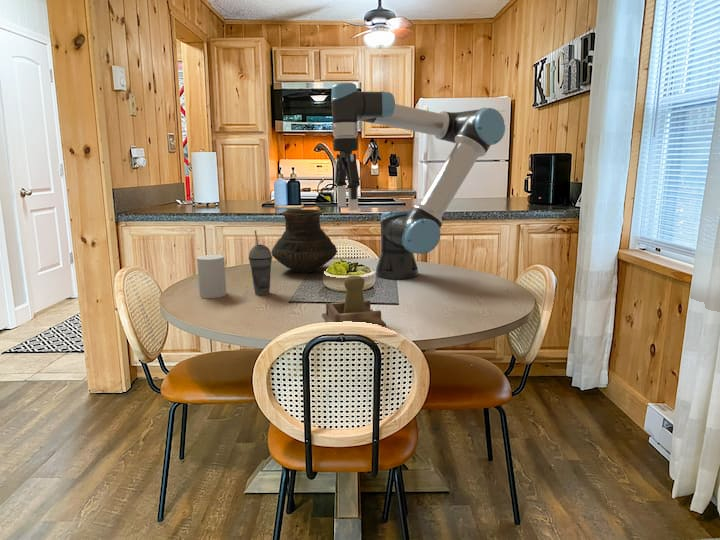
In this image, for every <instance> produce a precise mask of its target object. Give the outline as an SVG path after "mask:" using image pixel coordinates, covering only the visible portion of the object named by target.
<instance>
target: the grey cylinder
mask: <svg viewBox="0 0 720 540" xmlns="http://www.w3.org/2000/svg"><path fill="white" fill-rule="evenodd" d="M196 264H197V265H196V266H197V267H196V268H197V277H198V292H199V297H200V298H204V299H216V298H221V297H225V296H227V282H226V280H227V279H226V267H225V256H224V255H222V254H206V255H201V256H200V255H199V256H197V257H196Z"/></svg>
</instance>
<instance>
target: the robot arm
mask: <svg viewBox="0 0 720 540" xmlns="http://www.w3.org/2000/svg"><path fill="white" fill-rule="evenodd" d="M395 99H396V98H395V96H394V94H393V93H392V92H389V91H388V92H387V91H383V90H382V91H360V90H358V88H357V85H356V84H355V83H354V82H353V83H352V82H342V83H341V82H340V83H334V84H333V85H332V86H331V101H330V102H331V114H332V115H331V116H332V118H331V119H332V126H330V130H332V136H333V140H332V145H333V146H332V149H333V152H339V154H336V168H335V178H334V184H336V193H337V195H336V197H337V207H347V197H348V211H351V212H352V211H359V196H358V195H359V194H358V193H359V192H358V191H359V190H358V188H359V186H360V185H361V182H360V176H359V170H358V164H357V154H356V153H353V152H357V151H359V139H358V138H357V137H358V136H359V130H358V129H359V126H358V124H359V123H358V122H364V123H368V124H370V123H371V124H376V125H381V126H386V127H391V128H397V129H401V130H406V131H412V132H416V133H422V134H427V135H432V136H434V137H435V139H438V140H440V141H446V142H450V143H454V144H455V145H454V147H453V149H452V150H451V151H450V154H449V155H448V157H447V158H446V159H445V162H444V163H443V164H442V166H441V168H440V170H439V172H438V173H437V174H436V176H435V178H434V180H433V181H432V183H431V184H430V186H429V187H428V189H427V191H426V193H424V195H423V198H422V199H421V200H420V202H419V204H415V205H413V206H411V208H410V210H395V211H385V212H382V213H381V216H380V223H379V224H380V255H379V258H378V262H377V265H376V268H375V275H376V276H377V277H378V278H383V279H387V280H405V279H406V280H407V279H412V278H415V277H418V276H419V269H418V268H419V267H418V265H417V262H416V261H417V260H416V259H415V255H414V254H417V255H418V254H419V255H423V254H424V255H425V254H428V253H431V252H432V251H434V249H436V248H437V246H438V244H439V243H440V241H441V236H442V235H441V228H442V226H443V220H442V218H443V215H444V214H445V212H446V211H447V209H448V207H449V206H450V204H451V202H452V201H453V199H454V198H455V196H456V194H457V193H458V191H459V189H460V187H461V186H462V184H463V183H464V181H465V179H466V178H467V176H468V174H469V173H470V171H471V170H472V168H473V166H474V165H475V163H476V162H477V160H478V158H481V157H485V155H486V153H487V152H488V150H489V149H490V147H491V146H493V145H496V144H498V143H500V142H501V141H502V140H503V138H504V136H505V132H506V124H505V119H504V117H503V114H501V112H499V110H497V109H495V108H493V107H482V108H480V109H474V110H473V109H472V110H465V111H464V110H463V111H458V112H450V111H445V110H444V111H441V112H434V111H432V110H431V111H430V110H426V109H420V108H416V107H412V106H406V105H403V104H398V103H396V100H395ZM346 179H347V180H346ZM347 183H348V185H347ZM347 194H348V196H347Z"/></svg>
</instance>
